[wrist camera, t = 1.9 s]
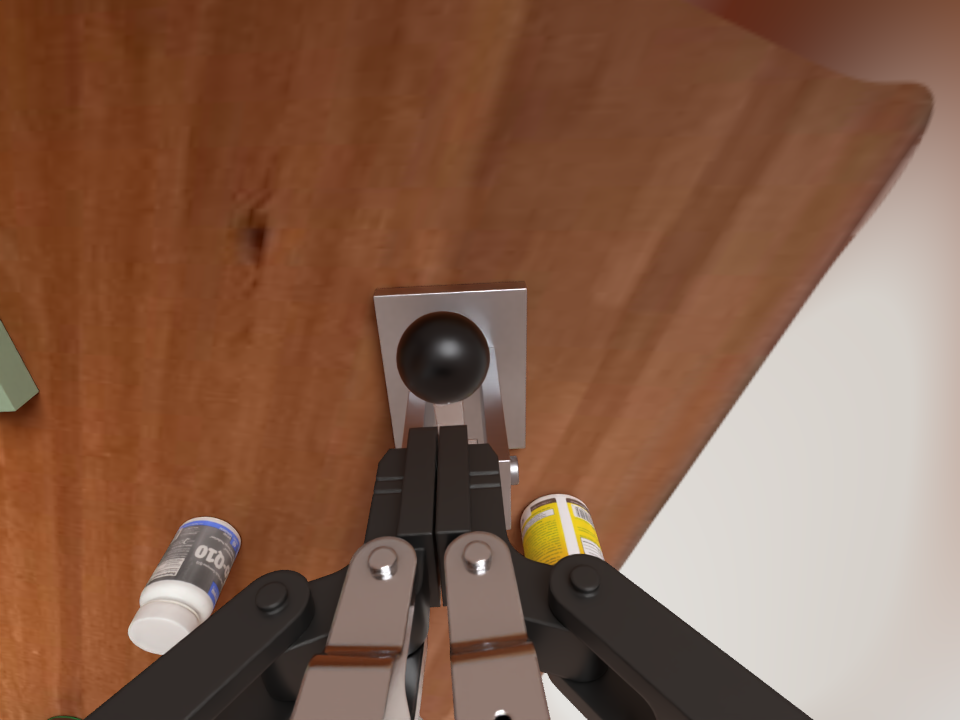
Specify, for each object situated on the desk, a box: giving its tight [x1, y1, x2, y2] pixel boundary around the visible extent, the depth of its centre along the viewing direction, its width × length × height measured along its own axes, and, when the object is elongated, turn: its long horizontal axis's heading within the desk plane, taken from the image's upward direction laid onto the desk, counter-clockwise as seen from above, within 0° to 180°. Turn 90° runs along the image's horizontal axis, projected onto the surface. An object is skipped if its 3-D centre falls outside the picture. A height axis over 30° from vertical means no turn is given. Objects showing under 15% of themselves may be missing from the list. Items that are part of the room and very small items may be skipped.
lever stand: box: [373, 281, 527, 530], centre depth 30 cm, size 12×9×12 cm
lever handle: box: [396, 311, 490, 444], centre depth 22 cm, size 13×3×3 cm, turn 2°
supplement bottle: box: [520, 494, 604, 565], centre depth 38 cm, size 6×6×10 cm
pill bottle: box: [128, 517, 241, 655], centre depth 38 cm, size 5×5×8 cm
